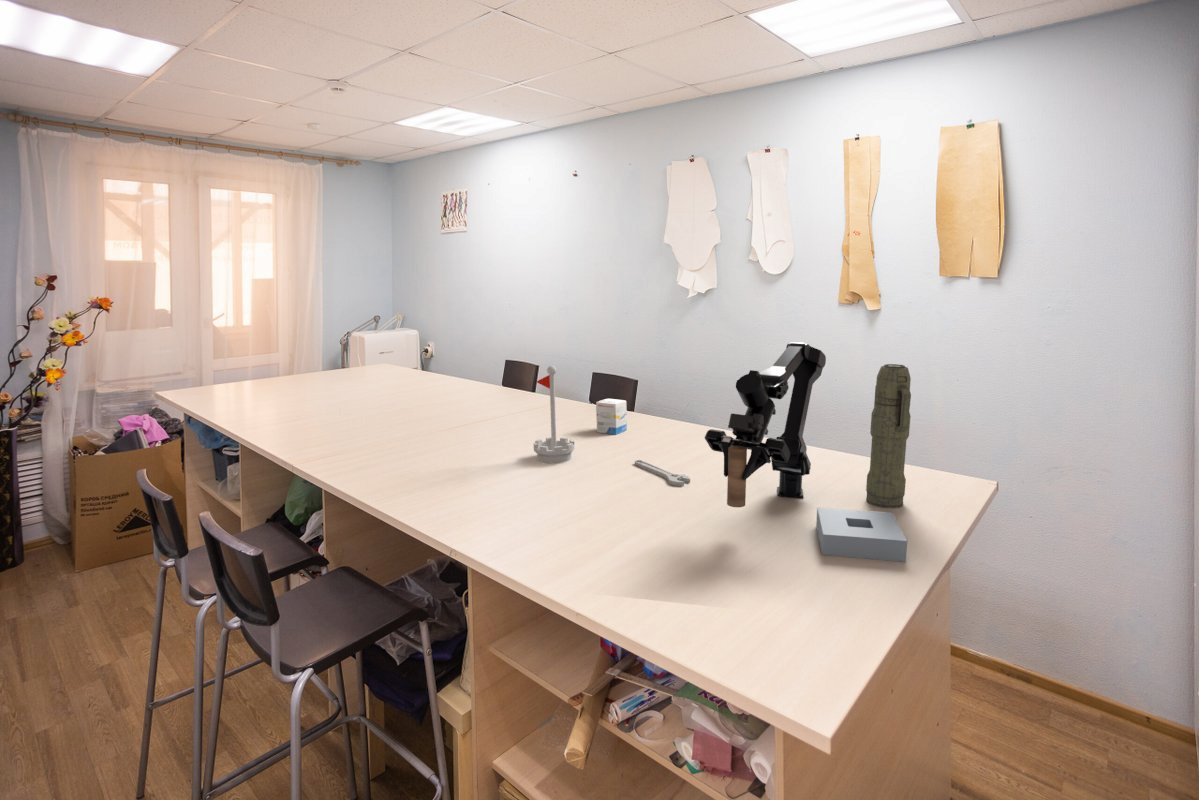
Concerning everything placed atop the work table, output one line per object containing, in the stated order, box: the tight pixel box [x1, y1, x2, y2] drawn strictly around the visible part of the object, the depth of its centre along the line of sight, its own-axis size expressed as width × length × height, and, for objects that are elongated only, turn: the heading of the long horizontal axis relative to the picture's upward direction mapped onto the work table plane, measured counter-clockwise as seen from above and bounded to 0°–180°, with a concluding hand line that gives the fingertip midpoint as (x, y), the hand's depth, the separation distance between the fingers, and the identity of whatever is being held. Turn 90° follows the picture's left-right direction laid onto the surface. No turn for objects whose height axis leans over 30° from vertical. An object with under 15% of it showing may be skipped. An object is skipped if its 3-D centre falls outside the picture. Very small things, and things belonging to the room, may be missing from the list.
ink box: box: [595, 398, 628, 435], centre depth 242 cm, size 9×8×12 cm
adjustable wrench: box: [634, 459, 691, 487], centre depth 191 cm, size 25×6×2 cm, turn 25°
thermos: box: [865, 363, 912, 509], centre depth 161 cm, size 9×12×35 cm
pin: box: [726, 446, 748, 508], centre depth 144 cm, size 4×4×13 cm
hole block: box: [815, 507, 908, 563], centre depth 140 cm, size 16×16×4 cm
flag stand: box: [533, 365, 575, 464], centre depth 206 cm, size 13×13×30 cm
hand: (734, 477), depth 143 cm, fingers closed on pin, 4 cm apart
